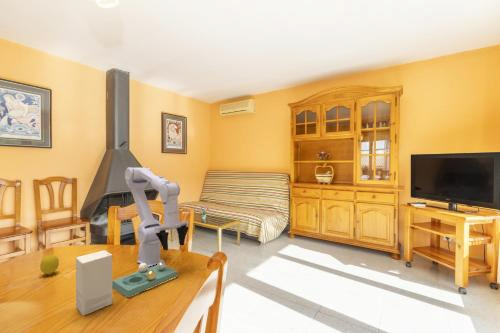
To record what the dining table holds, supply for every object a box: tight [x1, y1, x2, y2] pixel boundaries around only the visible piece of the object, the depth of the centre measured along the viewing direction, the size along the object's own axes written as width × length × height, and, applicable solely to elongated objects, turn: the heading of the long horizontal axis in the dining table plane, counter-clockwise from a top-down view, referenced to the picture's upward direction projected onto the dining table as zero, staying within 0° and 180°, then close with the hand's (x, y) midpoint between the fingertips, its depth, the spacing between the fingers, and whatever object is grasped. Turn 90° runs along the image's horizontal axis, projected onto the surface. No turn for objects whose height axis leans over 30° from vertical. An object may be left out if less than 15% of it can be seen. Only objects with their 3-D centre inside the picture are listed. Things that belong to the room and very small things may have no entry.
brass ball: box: [146, 270, 156, 280], centre depth 87 cm, size 3×3×3 cm
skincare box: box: [75, 249, 113, 317], centre depth 75 cm, size 8×7×16 cm
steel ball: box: [157, 261, 167, 271], centre depth 95 cm, size 3×3×3 cm
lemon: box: [39, 253, 60, 275], centre depth 95 cm, size 6×6×8 cm
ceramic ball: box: [138, 263, 149, 272], centre depth 94 cm, size 3×3×3 cm
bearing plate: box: [112, 265, 179, 298], centre depth 90 cm, size 19×11×2 cm, turn 143°
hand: (173, 247), depth 99 cm, fingers open, 7 cm apart
